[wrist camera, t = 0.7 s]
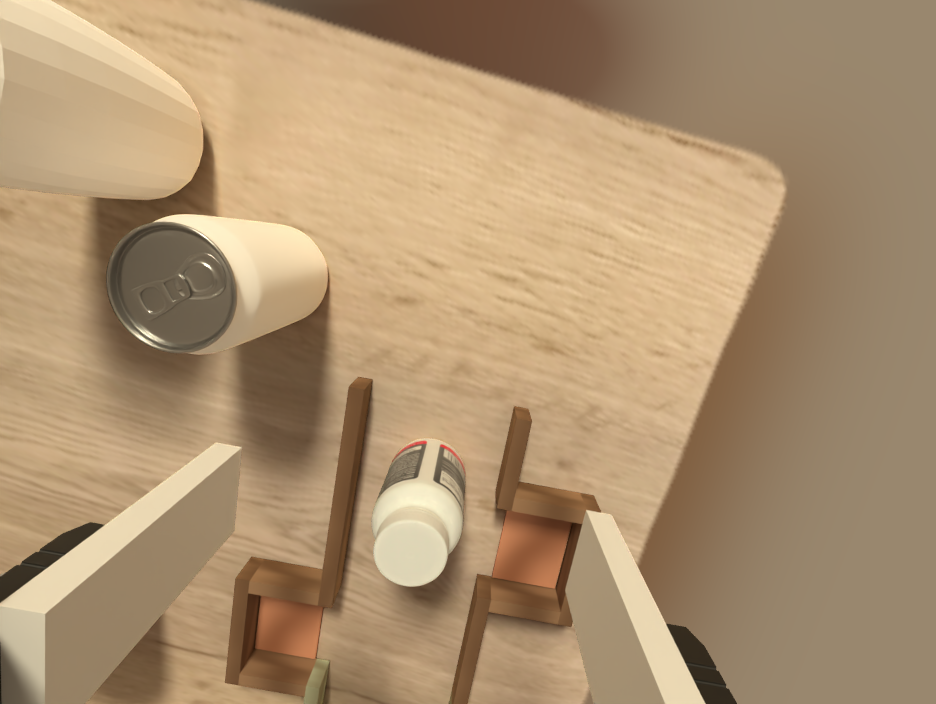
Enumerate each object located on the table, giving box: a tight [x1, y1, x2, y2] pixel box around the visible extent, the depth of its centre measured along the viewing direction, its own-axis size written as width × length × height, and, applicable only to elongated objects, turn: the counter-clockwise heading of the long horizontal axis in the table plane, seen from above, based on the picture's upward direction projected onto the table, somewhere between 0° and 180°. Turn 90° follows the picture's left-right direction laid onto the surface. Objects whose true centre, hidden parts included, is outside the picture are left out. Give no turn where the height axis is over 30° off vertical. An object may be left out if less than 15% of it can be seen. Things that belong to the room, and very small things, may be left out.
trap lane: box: [225, 377, 601, 704], centre depth 36 cm, size 24×31×3 cm
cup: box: [0, 0, 203, 200], centre depth 24 cm, size 8×8×14 cm
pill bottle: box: [371, 438, 465, 587], centre depth 31 cm, size 5×5×10 cm
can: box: [106, 214, 328, 355], centre depth 27 cm, size 6×6×12 cm
